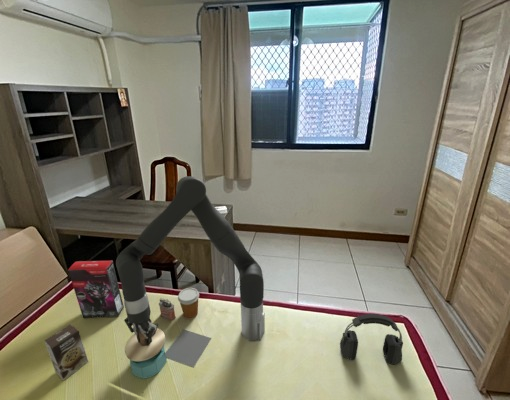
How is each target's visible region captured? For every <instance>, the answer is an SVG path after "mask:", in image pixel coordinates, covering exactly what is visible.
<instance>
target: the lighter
mask: <svg viewBox="0 0 510 400" xmlns="http://www.w3.org/2000/svg"><path fill="white" fill-rule="evenodd" d="M158 306H159V310H160V317H161V318H164V319H165V320H168V321H174V320H176V319H177V317H176V313H175V311H176V310H175V305H174V304H173V303H172V301H171V300H169V299H168V298H167V299H165V298H162V297H161V298H160V299H159V301H158Z"/></svg>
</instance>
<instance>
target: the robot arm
mask: <svg viewBox="0 0 510 400" xmlns="http://www.w3.org/2000/svg"><path fill="white" fill-rule="evenodd" d="M176 183H177V184H176V187H175V191H176V193H175V195H174V197H173V199H172V200H171V202H170V203H169V204H168V206H166V207H165V209H164V210H162V212H161V213H160V214H159V215H158V216H157V217H155V218H154V219H153V220H152V221H151V222H150V223H149V224H148V225H147V226H146V227H145V228H144V230H142V232H141V233H140V234H139V235H138V236H137V238H136V239H135V240H134V241H133V242H131V243H130V244H129V245H127V246H126V247H124V249H122V250H121V251H120V252H119V254H118V256H117V257H116V260H115V266H116V269H117V274H118V277H119V280H120V283H121V292H122V297H123V306H124V308H125V314H126V317H125V318H124V320H123V321H124V323H125V325H126V326H127V327H128V330H129V331H130V333H132V334H135V335H136V336H137V340H138V342H139V343H141V342H140V338H139V333H138V330H139V329H140V330H141V333H142V334H144V337H145V342H146V345H147V346H149V345H150V343H151V342H152V337H153V336H154V335H155V334H156V331H157V328H158V327H159V324H158V323H154V322H153V323H152V319H151V307H150V300H149V296H148V294H147V290H146V285H145V281H144V271H143V265H142V263H141V260H142V259H143V257H144V256H149V255H152V254H154V252H155V251H156V250H157V249H158V248H159V246H160V245H161V244H162V243H163V242H164V240H165V239H166V238H168V235H169V234H170V233H171V231H172V230H173V229H174V228H175V227H176V226H177V225H178V223H180V222H181V221H182V220H183V218H184V217H186V215H187V214H189V212H192V213H193V214H194V215H195V217H196V219H197V221H198V222H199V224H200V227H202V229H203V231H204V233H205V234H206V236H207V237H208V239H209V240H210V242H211V243H212V245H213V246H214V247H215V248H216V250H217V251H218V252H219V253H221V254H222V255H223V256H225V257H227V258H229V260H231V262H232V263H233V264H234V266H235V268H236V269H237V271H238V273H239V275H238V276H239V296H240V297H239V299H240V318H241V320H240V323H241V334H242V338H244V339H246V341H247V340H248V341H249V342H255V341H260V342H261V340H262V338H263V335H264V333H265V328H266V327H265V326H266V324H265V323H266V321H265V316H266V315H265V312H264V295H265V293H264V292H265V291H264V288H265V285H264V283H265V281H264V276H263V275H264V274H263V270H262V268H261V265H260V264H259V263H258V262H257V260H255V258H254V257H253V256H252V255H251V254H250V253H249V251H248V250H247V249H246V247H245V245H244V244H243V242H242V240H241V239H240V237H239V236H238V234H237V232H236V230H234V228H233V226H232V225H231V224H230V222H229V221H228V220H227V219H226V218H225V216H224V215H223V214H222V213H221V212H220V211H219V210H218V209H217V208H216V207H215V205H214V204H213V203H212V202H211V201H210V199H209V197H208V195H207V188H206V184H205V183H204V182H203V181H202V180H201V179H199V178H197V177H195V176H190V175H189V176H183V177H181V178H180V179H178V181H177V182H176ZM158 329H159V328H158ZM147 332H148V333H147Z"/></svg>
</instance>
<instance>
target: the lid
mask: <svg viewBox="0 0 510 400" xmlns="http://www.w3.org/2000/svg"><path fill="white" fill-rule="evenodd" d="M138 333H139V338H140V342H141V343H139V342H138V340H137V336H136V335H135V333H132V335H131V336H130V337H129V338H128V339H127V341H126V343H125V345H124V354H125V356H126V358H127V359H128V360H129V361H130V360H132V361H144V360H148V359H150V358H152V357H153V356H155V355H156V354H157V353H159V352H160V350H161V349H162V348H163V346H164V347H165V343H166V335H165V332H164V331H163V330H162V329H161V328H157V331H156V334H155V335H154V336H153V337H152V342H151V343H150V345H149V346H147V345H146V342H145V337H144V334H142V333H141V330H140V329H139V330H138ZM147 333H148V332H147Z"/></svg>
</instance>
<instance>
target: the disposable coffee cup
mask: <svg viewBox="0 0 510 400" xmlns="http://www.w3.org/2000/svg"><path fill="white" fill-rule="evenodd" d="M199 298H200V292H199V291H198V289H197V288H194V287H186V288H184V289H182V290H181V291H180V292H179V293H178V296H177V301H178V302H179V303H180V307H181V310H182V314H183V317H184V318H185V319H188V320H190V319H194V318H196V317H197V316H198V313H199Z"/></svg>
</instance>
